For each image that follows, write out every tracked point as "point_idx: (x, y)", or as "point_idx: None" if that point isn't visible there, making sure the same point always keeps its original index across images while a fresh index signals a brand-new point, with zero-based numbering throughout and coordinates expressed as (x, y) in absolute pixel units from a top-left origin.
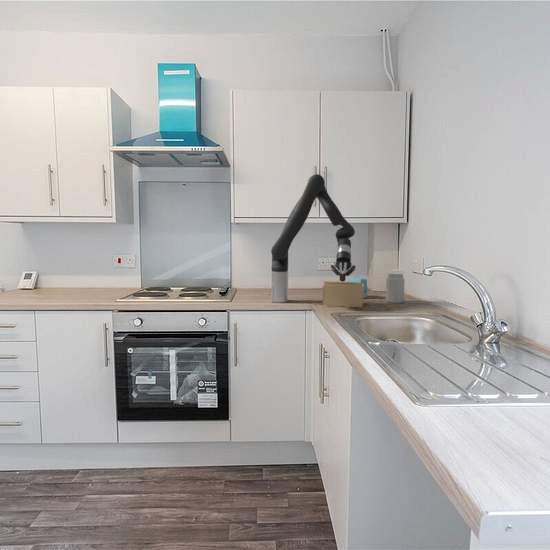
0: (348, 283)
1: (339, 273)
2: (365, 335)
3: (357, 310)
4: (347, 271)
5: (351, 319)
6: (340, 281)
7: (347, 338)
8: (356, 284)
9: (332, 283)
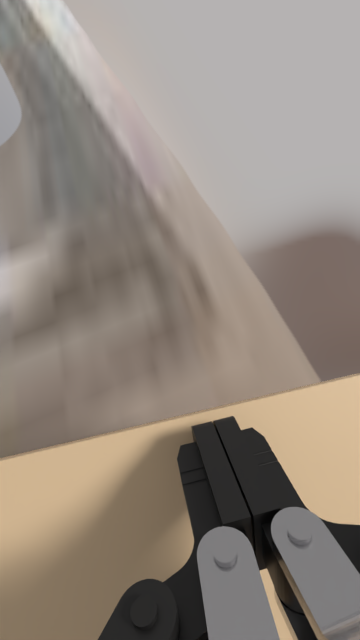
0: (143, 518)
1: (327, 531)
2: (7, 51)
3: None
4: (160, 626)
5: (82, 221)
6: (228, 405)
7: (54, 19)
8: (45, 628)
9: (353, 479)
